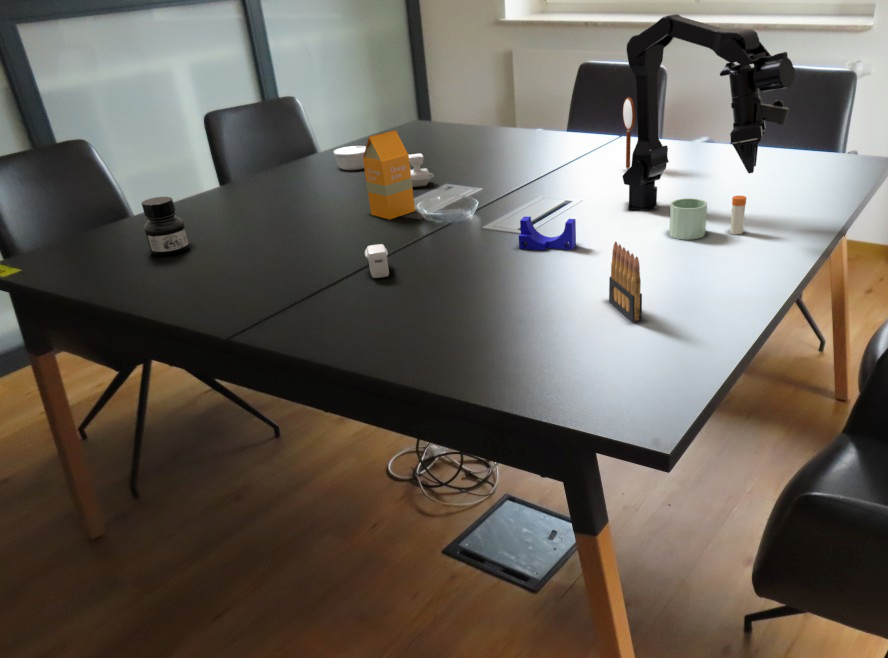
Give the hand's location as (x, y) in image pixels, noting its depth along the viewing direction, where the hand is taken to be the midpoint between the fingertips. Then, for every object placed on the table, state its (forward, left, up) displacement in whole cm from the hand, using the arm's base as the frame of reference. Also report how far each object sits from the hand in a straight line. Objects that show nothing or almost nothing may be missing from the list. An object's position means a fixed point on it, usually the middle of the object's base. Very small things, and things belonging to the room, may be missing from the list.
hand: (752, 169), depth 180 cm
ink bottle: (-135, -15, -14) cm, 137 cm away
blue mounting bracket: (-44, -12, -14) cm, 48 cm away
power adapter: (-79, -27, -14) cm, 85 cm away
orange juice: (-88, +14, -14) cm, 91 cm away
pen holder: (-13, -3, -14) cm, 19 cm away
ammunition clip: (-25, -47, -14) cm, 55 cm away
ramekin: (-115, +62, -14) cm, 132 cm away
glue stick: (-2, -2, -14) cm, 14 cm away
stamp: (-88, +40, -14) cm, 98 cm away
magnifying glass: (-29, +53, -14) cm, 63 cm away
